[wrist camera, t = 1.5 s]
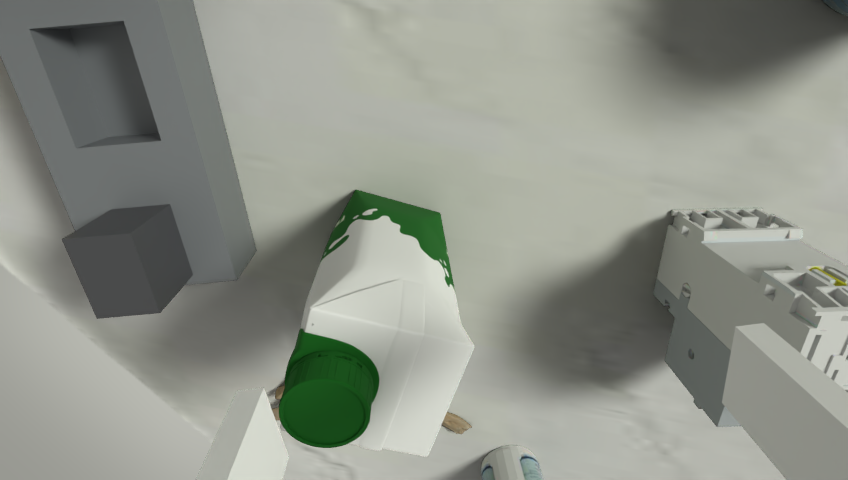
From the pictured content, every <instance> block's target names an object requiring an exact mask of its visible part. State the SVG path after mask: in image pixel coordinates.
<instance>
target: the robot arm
mask: <svg viewBox="0 0 848 480" xmlns="http://www.w3.org/2000/svg"><path fill="white" fill-rule="evenodd" d="M722 403H723V405H724V406H725V407H726V408H727V409H728V411H729V412H730V413H731V414H732V415H733V416H734V418H735V419H736V420H737V421H738V422H739V424H740V425H741V426H742V427H743V428H744V430H745V431H746V432H747V433H748V434H749V436H750V437H751V438H752V439H753V440H754V441H755V443H756V444H757V445H758V446H759V447H760V449H761V450H762V451H763V452H764V453H765V455H766V456H767V457H768V458H769V459H770V461H771V462H772V463H773V464H774V465H775V466H776V468H777V469H778V470H779V471H780V472H781V474H782V475H783V476H784V477H785V478H786V480H848V392H847V391H845V390H844V389H843V388H842V387H841V386H839V385H838V384H837V383H836V382H834V381H833V380H832V379H831V378H830V377H828V376H827V375H826V374H825V373H824V372H822V371H821V370H820V369H819V368H818V367H816V366H815V365H814V364H813V363H812V362H810V361H809V360H808V359H807V358H805V357H804V356H803V355H802V354H801V353H799V352H798V351H797V350H796V349H795V348H793V347H792V346H791V345H790V344H789V343H787V342H786V341H785V340H784V339H782V338H781V337H780V336H779V335H778V334H776V333H775V332H774V331H773V330H772V329H770V328H769V327H768V326H767V325H766V324H764V323H759V324H752V325H744V326H736V327H735V332H734V337H733V343H732V348H731V354H730V360H729V365H728V371H727V376H726V382H725V387H724V393H723V399H722ZM288 458H289V456H288V453H287V450H286V447H285V445H284V442H283V439H282V436H281V434H280V431H279V428H278V425H277V422H276V420H275V417H274V414H273V411H272V409H271V406H270V403H269V400H268V397H267V395H266V392H265V389H264V387H263V388H255V389H248V390H240V391H237V392H236V394H235V396H234V399H233V401H232V403H231V405H230V407H229V409H228V411H227V414H226V416H225V418H224V420H223V422H222V424H221V426H220V428H219V431H218V433H217V435H216V437H215V439H214V441H213V443H212V446H211V448H210V450H209V452H208V454H207V456H206V459H205V461H204V463H203V465H202V467H201V469H200V471H199V473H198V476H197V478H196V480H283V476H284V473H285V469H286V465H287V462H288Z"/></svg>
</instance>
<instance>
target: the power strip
mask: <svg viewBox="0 0 848 480" xmlns="http://www.w3.org/2000/svg"><path fill="white" fill-rule="evenodd" d="M0 56H1V59H2V61H3V63H4V66H5V68H6V70H7V73H8V75H9V77H10V80H11V82H12V84H13V87H14V89H15V91H16V94H17V96H18V98H19V101H20V103H21V105H22V108H23V110H24V112H25V115H26V117H27V119H28V122H29V124H30V127H31V129H32V131H33V134H34V136H35V138H36V141H37V143H38V145H39V148H40V150H41V152H42V155H43V157H44V159H45V162H46V164H47V166H48V169H49V171H50V173H51V176H52V178H53V180H54V183H55V185H56V187H57V190H58V192H59V194H60V197H61V199H62V201H63V204H64V206H65V208H66V211H67V213H68V215H69V218H70V220H71V223H72V225H73V227H74V230H75V232H73V233H71V234H70V235H68V236H67V237H65V238H63V239H62V241H63V243H64V245H65V248H66V250H67V252H68V254H69V257H70V259H71V261H72V263H73V266H74V268H75V270H76V272H77V275H78V277H79V279H80V281H81V284H82V286H83V288H84V290H85V293H86V295H87V297H88V299H89V302H90V304H91V306H92V309H93V311H94V313H95V315H96V318H97V319H98V318H109V317H120V316H131V315H143V314H154V313H161V311H162V310H163V309H164V308H165V307H166V306H167V304H168V303H169V302H170V301H171V300H172V299H173V298H174V296H175V295H176V294H177V293H178V292H179V291H180V290H181V288H182V287H183V286H184V285H189V284H200V283H211V282H223V281H234V280H237V279H238V278H239V276H240V275H241V273H242V272H243V270H244V269H245V267H246V266H247V264H248V263H249V261H250V260H251V258H252V257H253V255H254V254H255V253H256V251H257V250H256V247H255V243H254V239H253V235H252V231H251V227H250V223H249V219H248V215H247V211H246V207H245V204H244V200H243V196H242V192H241V188H240V184H239V180H238V176H237V172H236V168H235V164H234V160H233V157H232V153H231V149H230V145H229V141H228V137H227V133H226V129H225V125H224V121H223V117H222V114H221V110H220V106H219V102H218V98H217V94H216V90H215V86H214V82H213V78H212V74H211V70H210V67H209V63H208V59H207V55H206V51H205V47H204V43H203V39H202V35H201V31H200V27H199V24H198V20H197V16H196V12H195V8H194V4H193V0H0Z"/></svg>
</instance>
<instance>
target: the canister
mask: <svg viewBox="0 0 848 480" xmlns="http://www.w3.org/2000/svg"><path fill="white" fill-rule="evenodd" d="M823 1H824V2H825V3H826V4H827V5H828V6H829V7H830V8H832V9H833V10H835V11H837V12H839V13H841V14H843V15H846V16H848V0H823Z"/></svg>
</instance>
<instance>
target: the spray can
mask: <svg viewBox="0 0 848 480" xmlns="http://www.w3.org/2000/svg"><path fill="white" fill-rule="evenodd" d="M481 475H482V480H544V479H543V476H542V473H541V469H540V466H539V463H538V461H537V459H536V457H535V455H534V454H533V453H532V452H531V451H530V450H529V449H527V448H525V447H521V446H517V445H508V446H502V447H500V448H497V449H495V450H493V451H491V452H490V453H489V454H488V455H487V456H486V457H485V458H484V460H483V462H482V465H481Z"/></svg>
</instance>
